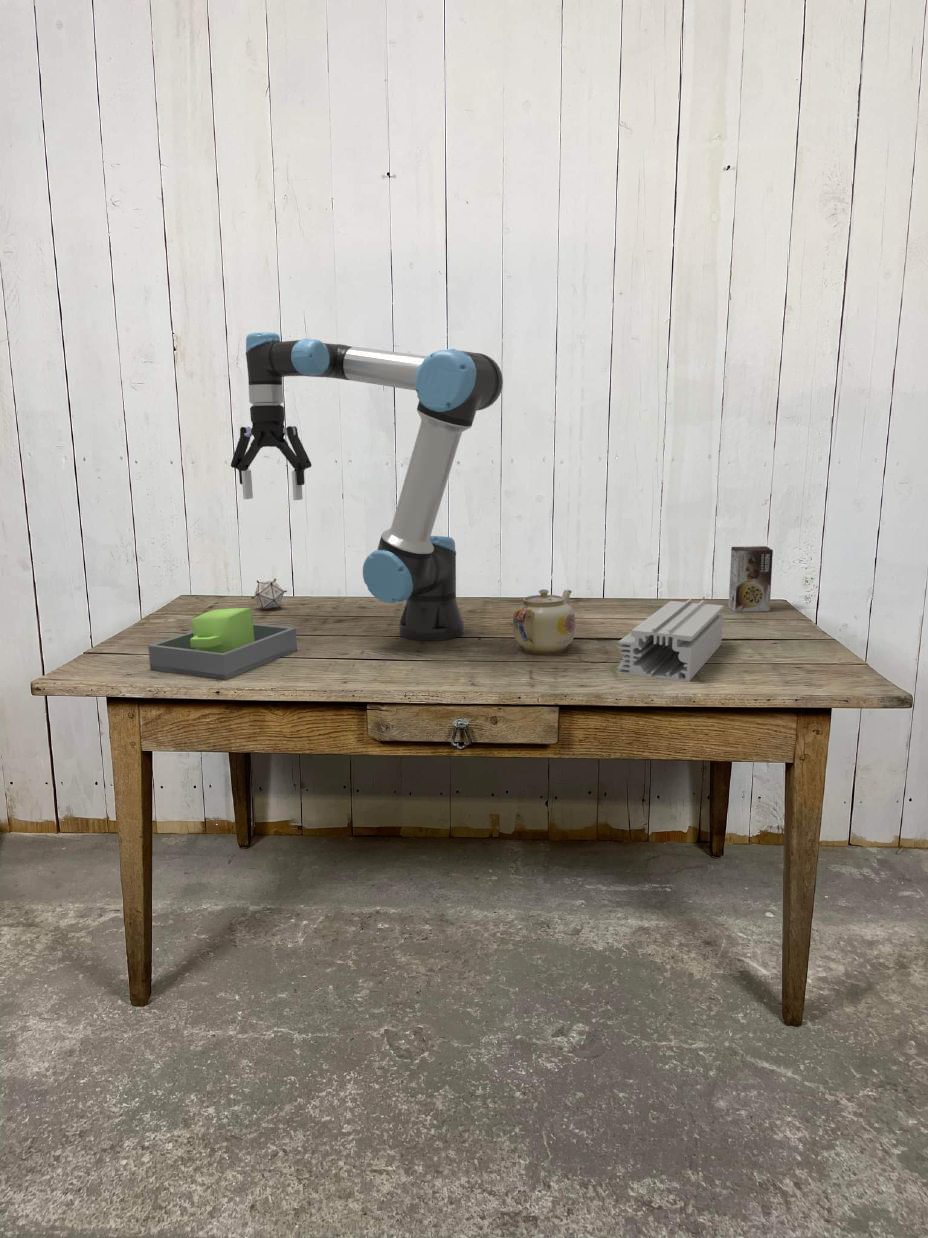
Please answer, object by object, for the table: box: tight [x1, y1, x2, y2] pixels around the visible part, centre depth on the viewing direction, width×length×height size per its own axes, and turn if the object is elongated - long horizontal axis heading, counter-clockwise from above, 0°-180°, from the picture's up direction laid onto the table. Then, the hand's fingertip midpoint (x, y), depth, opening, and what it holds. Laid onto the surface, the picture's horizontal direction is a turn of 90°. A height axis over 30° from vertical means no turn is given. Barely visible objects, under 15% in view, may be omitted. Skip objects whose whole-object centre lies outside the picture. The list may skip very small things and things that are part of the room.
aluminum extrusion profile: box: [616, 598, 725, 683], centre depth 182 cm, size 14×31×10 cm, turn 153°
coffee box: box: [728, 545, 774, 613], centre depth 226 cm, size 9×6×16 cm
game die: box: [250, 577, 288, 612], centre depth 233 cm, size 9×8×10 cm
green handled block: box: [190, 607, 255, 653], centre depth 184 cm, size 18×10×10 cm, turn 169°
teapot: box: [512, 589, 577, 656], centre depth 190 cm, size 20×14×13 cm
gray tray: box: [147, 623, 298, 681], centre depth 184 cm, size 19×24×5 cm
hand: (272, 499), depth 203 cm, fingers open, 13 cm apart
